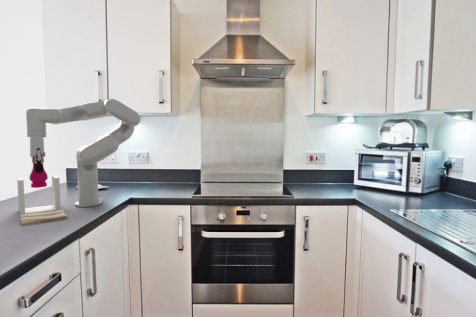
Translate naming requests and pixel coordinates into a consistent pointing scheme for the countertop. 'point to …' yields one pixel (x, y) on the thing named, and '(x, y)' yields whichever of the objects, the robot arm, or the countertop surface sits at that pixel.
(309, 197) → the countertop surface
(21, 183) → the gate
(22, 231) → the countertop surface
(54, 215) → the oak board
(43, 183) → the pepper mill
